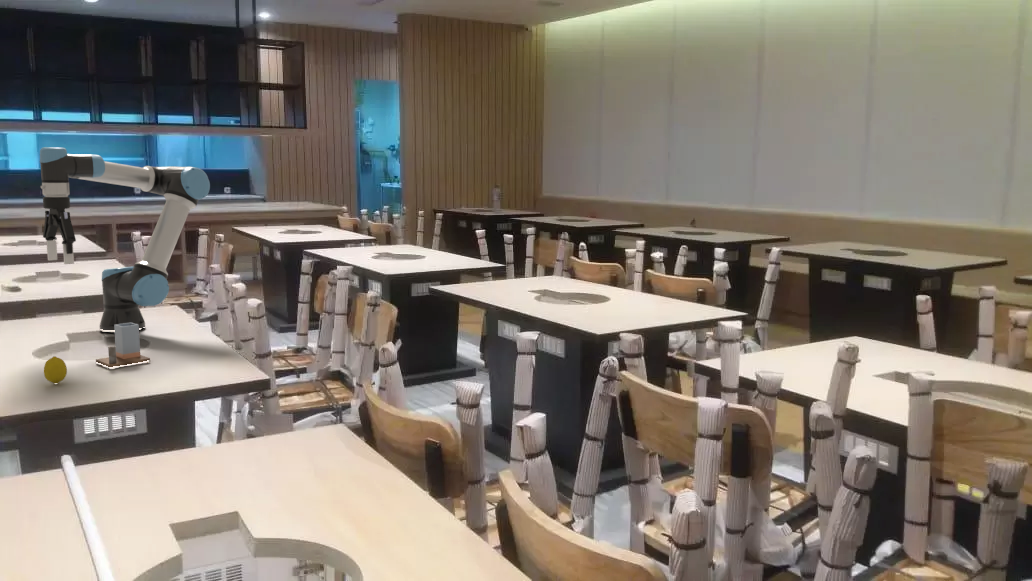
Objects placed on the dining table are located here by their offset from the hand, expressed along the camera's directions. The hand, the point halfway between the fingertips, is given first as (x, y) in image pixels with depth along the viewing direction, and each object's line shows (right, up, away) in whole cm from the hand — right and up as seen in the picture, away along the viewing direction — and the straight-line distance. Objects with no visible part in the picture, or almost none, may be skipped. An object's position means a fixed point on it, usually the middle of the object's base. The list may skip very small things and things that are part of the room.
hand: (60, 262), depth 263 cm
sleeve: (+27, -30, -11) cm, 42 cm away
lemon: (+20, -36, -38) cm, 56 cm away
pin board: (+27, -32, -14) cm, 44 cm away
